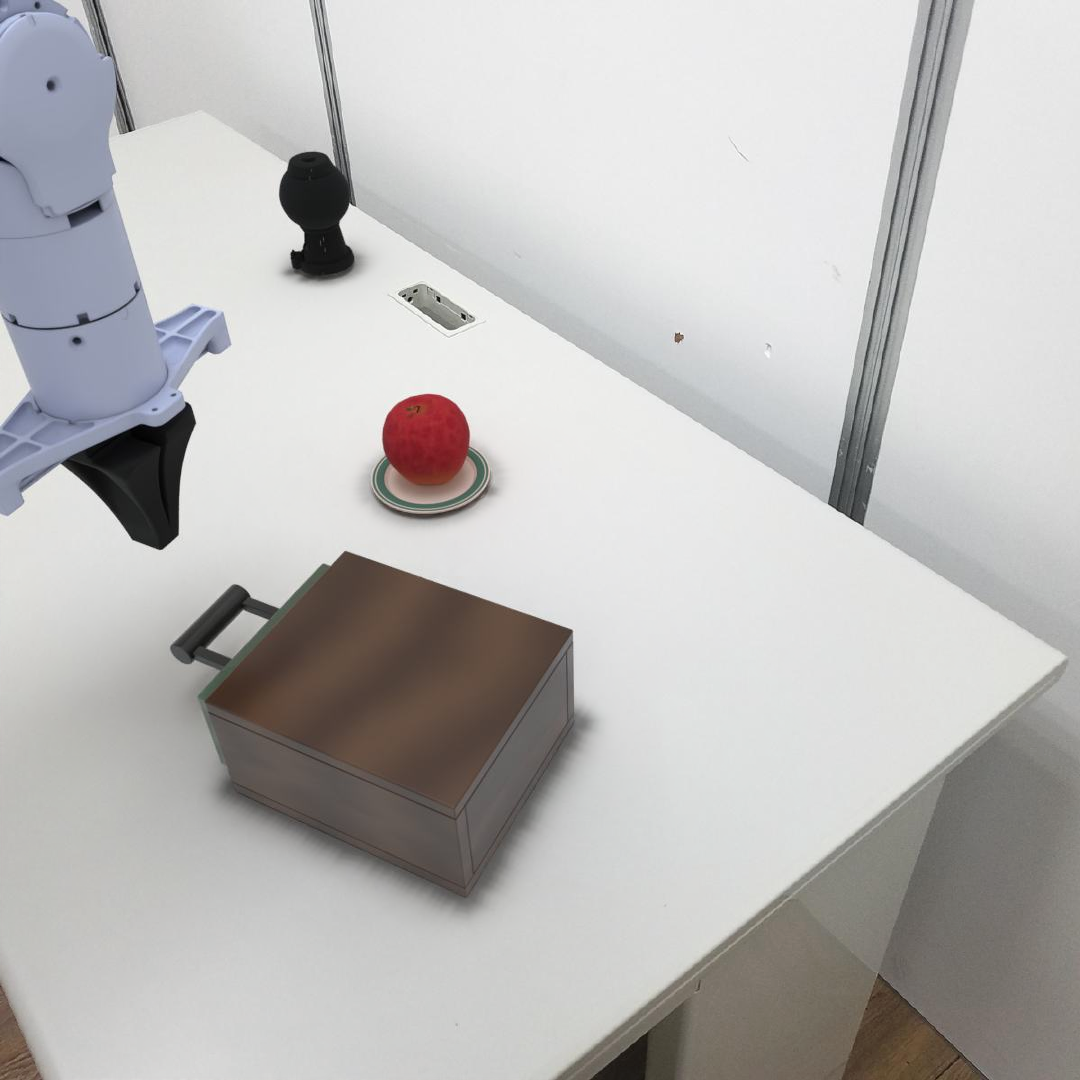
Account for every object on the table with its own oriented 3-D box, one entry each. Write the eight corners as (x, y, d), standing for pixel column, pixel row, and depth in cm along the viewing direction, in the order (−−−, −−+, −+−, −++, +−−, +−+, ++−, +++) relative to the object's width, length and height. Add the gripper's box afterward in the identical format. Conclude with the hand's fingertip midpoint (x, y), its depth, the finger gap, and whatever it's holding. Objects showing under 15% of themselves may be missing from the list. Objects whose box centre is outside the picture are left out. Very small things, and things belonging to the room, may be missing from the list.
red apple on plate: (364, 520, 72) (350, 439, 68) (379, 445, 78) (366, 367, 74) (487, 518, 72) (481, 436, 68) (492, 443, 78) (487, 364, 74)
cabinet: (235, 791, 57) (202, 700, 52) (362, 640, 64) (344, 549, 59) (466, 898, 52) (454, 809, 47) (574, 721, 59) (573, 629, 55)
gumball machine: (289, 253, 100) (267, 144, 93) (354, 243, 101) (338, 135, 94) (297, 289, 95) (275, 176, 88) (365, 278, 96) (349, 166, 90)
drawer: (152, 733, 58) (124, 665, 55) (274, 605, 65) (256, 538, 62) (429, 858, 52) (417, 791, 49) (530, 703, 59) (527, 635, 56)
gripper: (6, 408, 40) (113, 660, 49) (255, 238, 50) (306, 475, 59) (-125, 364, 43) (-1, 611, 52) (136, 210, 52) (202, 442, 61)
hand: (155, 536), depth 56 cm, fingers closed
